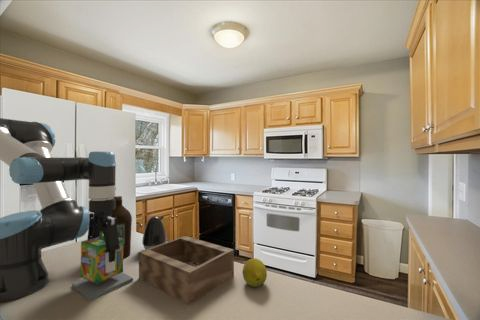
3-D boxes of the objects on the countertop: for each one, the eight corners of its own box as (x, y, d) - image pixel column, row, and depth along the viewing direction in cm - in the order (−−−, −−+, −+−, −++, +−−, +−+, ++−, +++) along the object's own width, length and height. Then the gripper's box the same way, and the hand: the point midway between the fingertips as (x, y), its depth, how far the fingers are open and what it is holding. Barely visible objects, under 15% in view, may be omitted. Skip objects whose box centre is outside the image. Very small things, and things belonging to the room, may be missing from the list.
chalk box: (79, 277, 75) (79, 231, 75) (107, 266, 83) (107, 224, 83) (96, 285, 70) (96, 236, 70) (124, 272, 78) (124, 228, 78)
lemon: (243, 276, 81) (243, 253, 81) (266, 277, 81) (266, 253, 81) (241, 294, 70) (241, 267, 70) (267, 295, 70) (267, 268, 70)
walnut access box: (138, 278, 80) (138, 251, 80) (184, 257, 97) (184, 235, 97) (190, 304, 65) (189, 272, 65) (233, 275, 82) (233, 249, 82)
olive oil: (108, 252, 102) (107, 195, 102) (134, 249, 105) (133, 194, 105) (99, 262, 92) (99, 199, 92) (128, 259, 94) (128, 198, 94)
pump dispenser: (171, 248, 107) (171, 215, 107) (152, 256, 98) (152, 220, 98) (156, 244, 112) (156, 212, 112) (137, 251, 103) (137, 217, 103)
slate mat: (72, 286, 75) (72, 283, 75) (113, 270, 86) (113, 267, 86) (89, 300, 67) (89, 296, 67) (132, 281, 78) (132, 278, 78)
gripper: (131, 200, 73) (132, 271, 73) (99, 194, 86) (99, 254, 86) (106, 204, 67) (107, 282, 67) (75, 196, 80) (75, 262, 80)
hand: (102, 266), depth 77 cm, fingers closed on chalk box, 9 cm apart
